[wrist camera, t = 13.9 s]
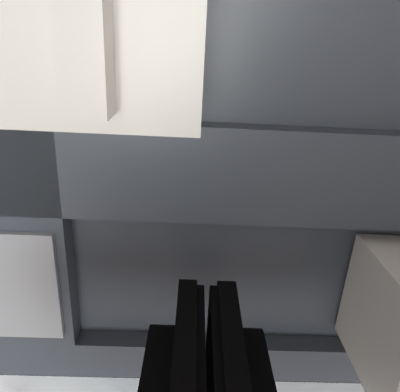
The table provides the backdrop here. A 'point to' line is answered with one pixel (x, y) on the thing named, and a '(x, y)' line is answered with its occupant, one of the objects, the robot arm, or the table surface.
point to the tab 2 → (373, 312)
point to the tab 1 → (103, 66)
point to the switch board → (212, 199)
